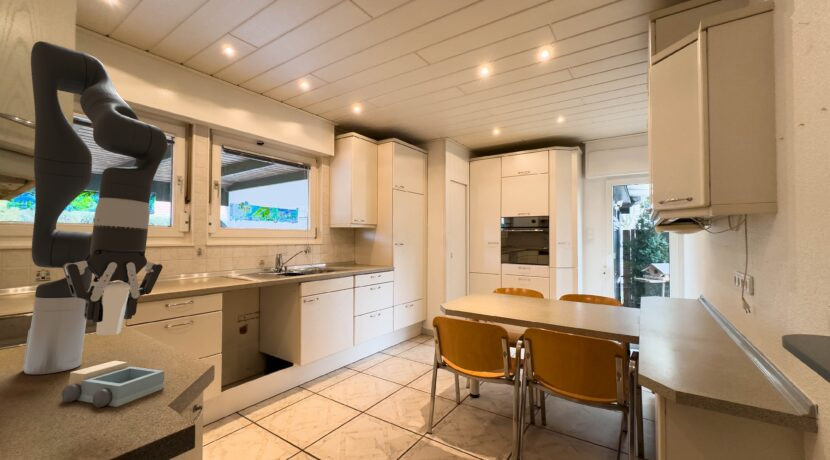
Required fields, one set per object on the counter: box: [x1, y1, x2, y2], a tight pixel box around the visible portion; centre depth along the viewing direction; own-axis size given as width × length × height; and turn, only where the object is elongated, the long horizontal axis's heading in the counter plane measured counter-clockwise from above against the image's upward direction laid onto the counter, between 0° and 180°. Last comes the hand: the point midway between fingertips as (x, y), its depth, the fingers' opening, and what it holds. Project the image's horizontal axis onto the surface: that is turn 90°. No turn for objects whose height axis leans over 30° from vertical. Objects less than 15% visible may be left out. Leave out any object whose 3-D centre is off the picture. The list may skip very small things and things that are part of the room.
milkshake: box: [95, 281, 132, 336], centre depth 60 cm, size 4×5×10 cm
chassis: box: [61, 360, 165, 408], centre depth 67 cm, size 13×11×5 cm
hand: (110, 319), depth 59 cm, fingers closed on milkshake, 4 cm apart
